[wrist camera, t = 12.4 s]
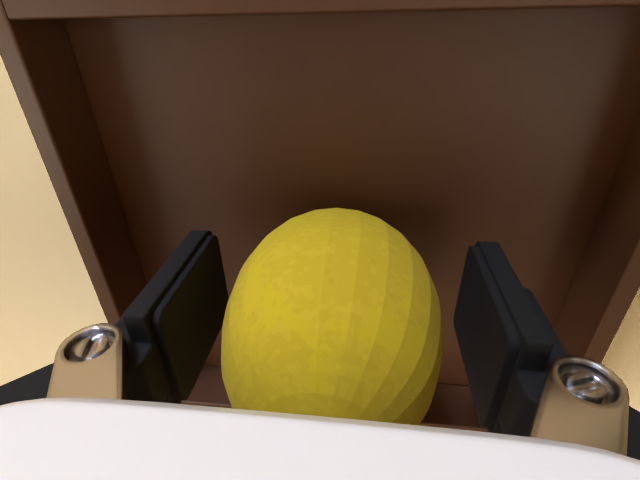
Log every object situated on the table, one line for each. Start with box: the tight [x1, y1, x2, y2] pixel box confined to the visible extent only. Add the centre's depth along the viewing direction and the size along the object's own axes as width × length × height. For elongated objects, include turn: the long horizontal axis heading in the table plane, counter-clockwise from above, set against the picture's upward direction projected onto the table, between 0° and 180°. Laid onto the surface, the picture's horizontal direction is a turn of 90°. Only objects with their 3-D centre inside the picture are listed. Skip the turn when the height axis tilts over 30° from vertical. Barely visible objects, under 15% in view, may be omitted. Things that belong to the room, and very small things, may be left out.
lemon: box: [221, 208, 443, 425], centre depth 10 cm, size 6×6×8 cm
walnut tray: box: [0, 0, 640, 432], centre depth 13 cm, size 17×15×2 cm
